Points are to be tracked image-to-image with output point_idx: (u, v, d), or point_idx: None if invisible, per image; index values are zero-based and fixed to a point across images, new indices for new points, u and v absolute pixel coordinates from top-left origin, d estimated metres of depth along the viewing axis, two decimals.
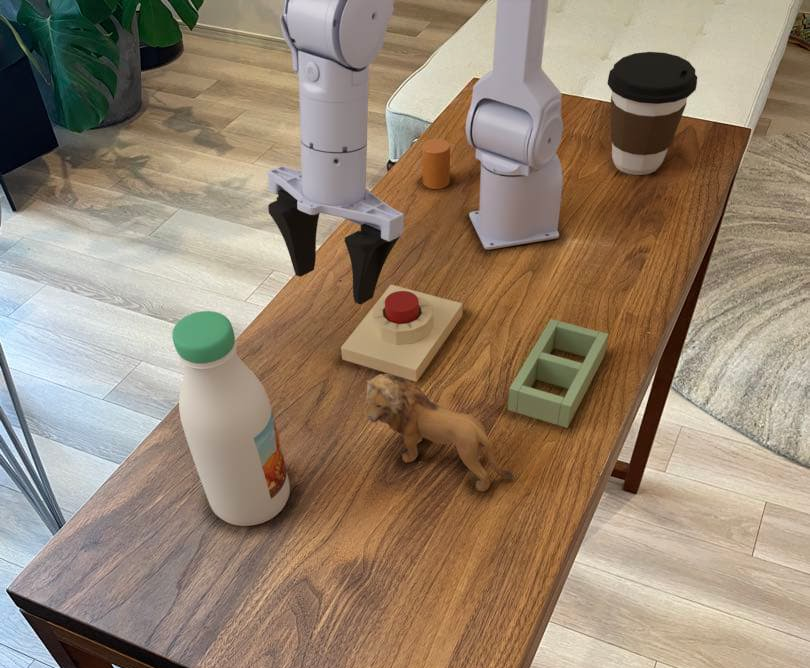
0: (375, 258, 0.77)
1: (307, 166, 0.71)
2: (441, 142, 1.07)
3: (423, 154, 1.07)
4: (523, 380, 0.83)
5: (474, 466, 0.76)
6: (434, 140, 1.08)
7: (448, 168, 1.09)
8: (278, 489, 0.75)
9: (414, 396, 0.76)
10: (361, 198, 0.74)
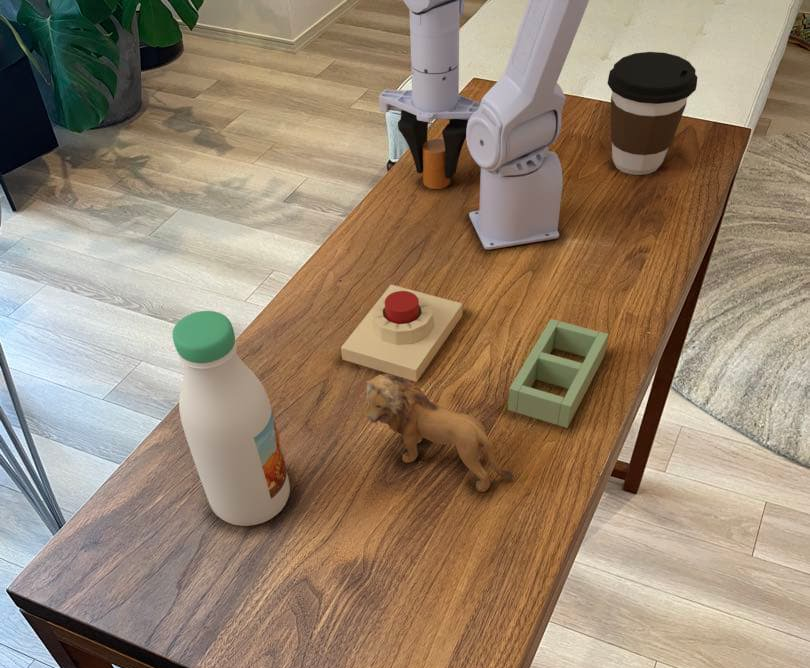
0: None
1: (422, 86, 0.99)
2: (441, 142, 1.07)
3: (423, 154, 1.07)
4: (523, 380, 0.83)
5: (474, 466, 0.76)
6: (434, 140, 1.08)
7: None
8: (278, 489, 0.75)
9: (414, 396, 0.76)
10: (458, 101, 1.02)
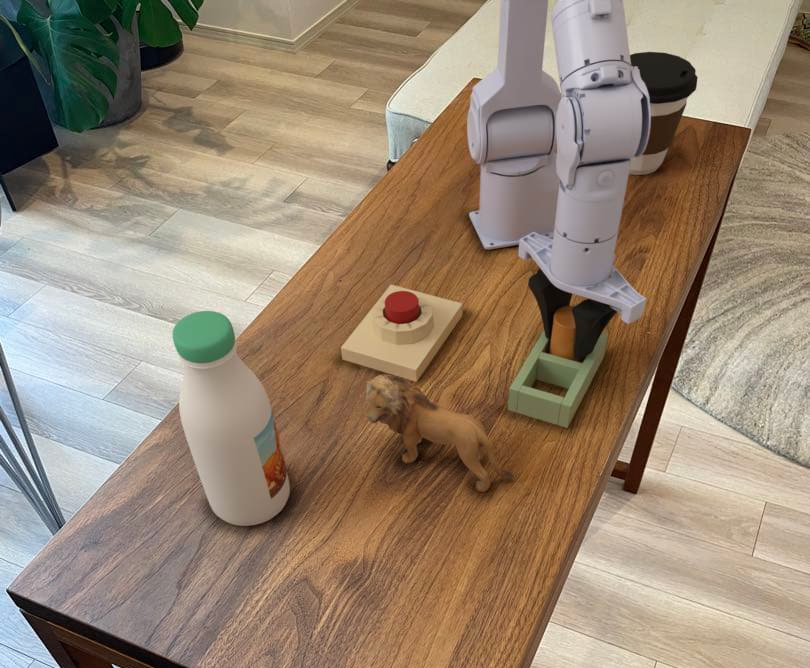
0: None
1: None
2: (562, 318, 0.83)
3: None
4: (523, 380, 0.83)
5: (474, 466, 0.76)
6: (569, 324, 0.82)
7: None
8: (278, 489, 0.75)
9: (414, 396, 0.76)
10: None
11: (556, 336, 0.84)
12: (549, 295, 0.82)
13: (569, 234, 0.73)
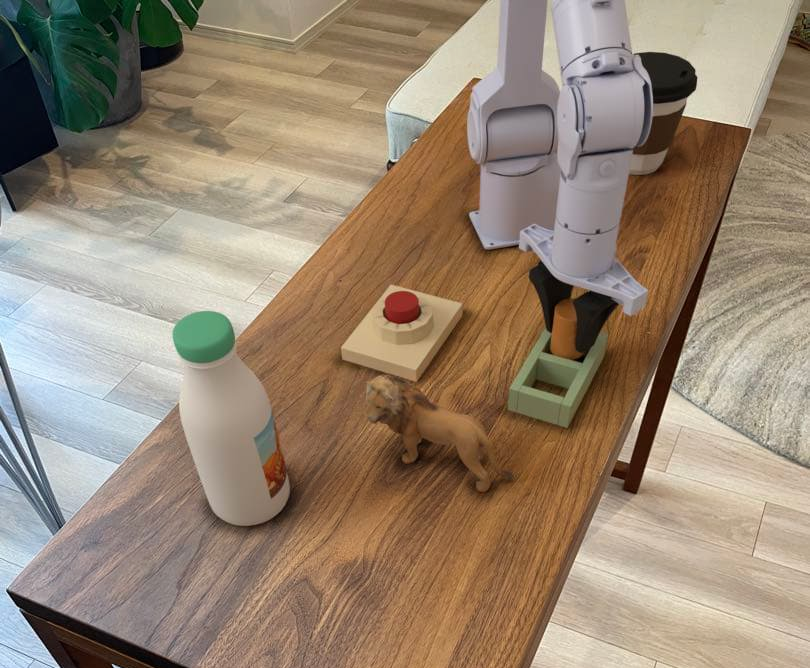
0: None
1: None
2: (563, 311, 0.82)
3: None
4: (523, 380, 0.83)
5: (474, 466, 0.76)
6: (570, 317, 0.81)
7: None
8: (278, 489, 0.75)
9: (414, 397, 0.76)
10: None
11: (557, 329, 0.83)
12: (550, 287, 0.81)
13: (570, 225, 0.73)
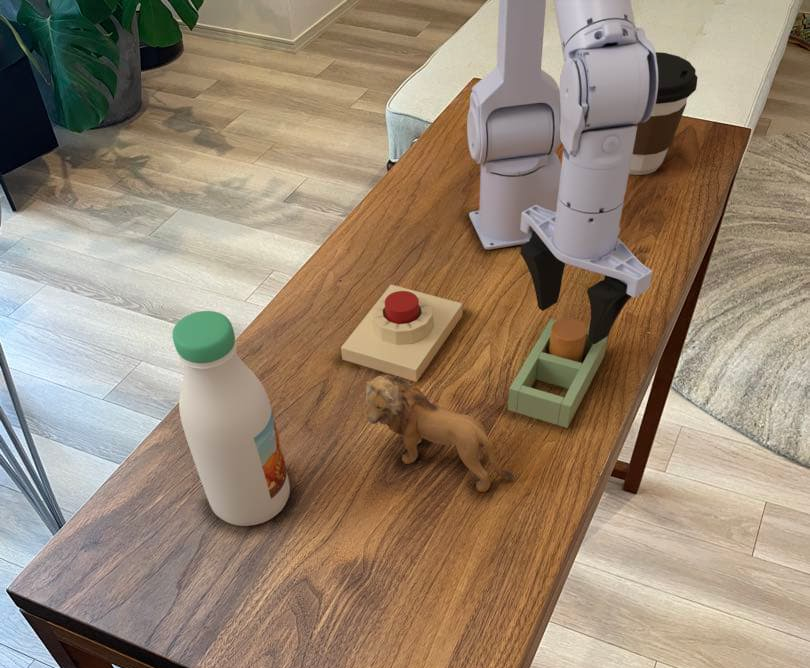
0: None
1: None
2: (560, 330, 0.84)
3: None
4: (523, 380, 0.83)
5: (474, 467, 0.76)
6: (566, 336, 0.83)
7: None
8: (278, 489, 0.75)
9: (414, 397, 0.76)
10: None
11: (554, 348, 0.85)
12: (542, 263, 0.80)
13: (573, 204, 0.71)
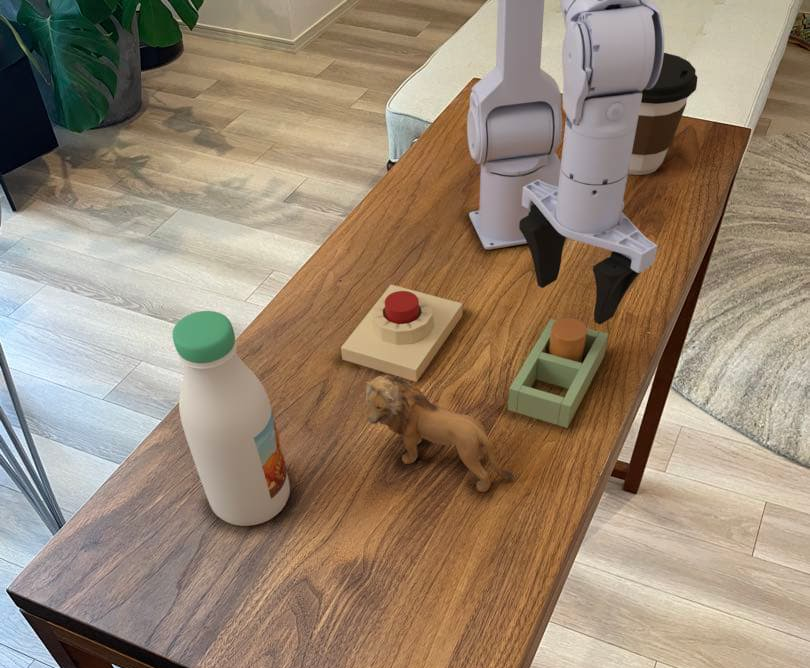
0: None
1: None
2: (560, 330, 0.84)
3: None
4: (523, 380, 0.83)
5: (475, 467, 0.76)
6: (566, 336, 0.83)
7: None
8: (278, 489, 0.75)
9: (414, 397, 0.76)
10: None
11: (554, 348, 0.85)
12: (541, 238, 0.78)
13: (576, 175, 0.69)
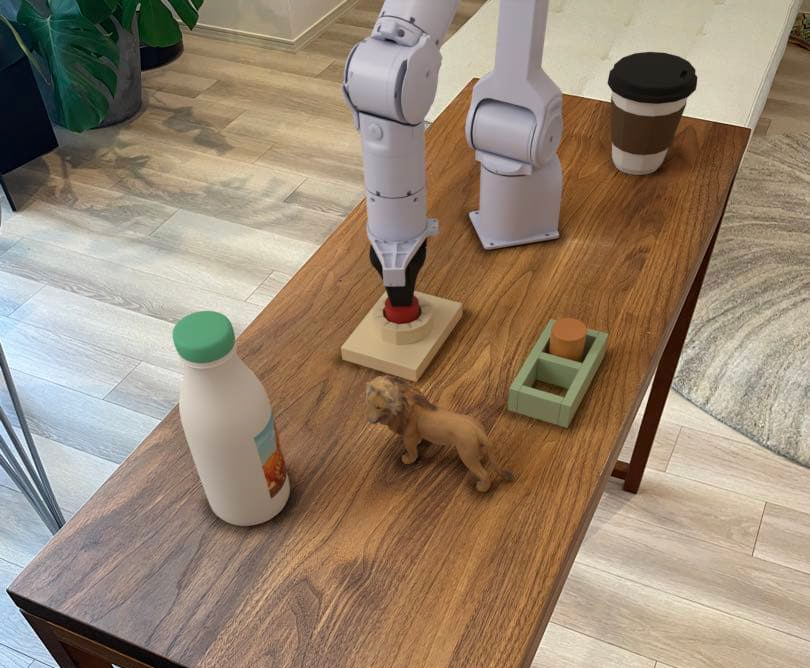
0: None
1: (425, 200, 0.78)
2: (560, 330, 0.84)
3: None
4: (523, 380, 0.83)
5: (475, 467, 0.76)
6: (566, 336, 0.83)
7: None
8: (278, 489, 0.75)
9: (414, 397, 0.76)
10: None
11: (554, 348, 0.85)
12: None
13: (364, 179, 0.77)
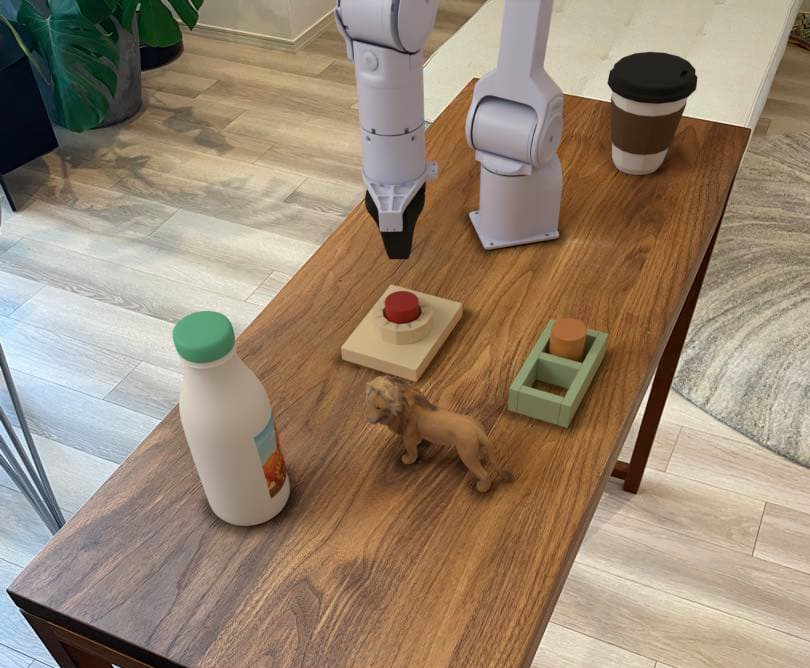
0: None
1: (423, 140, 0.74)
2: (560, 330, 0.84)
3: None
4: (523, 380, 0.83)
5: (475, 467, 0.76)
6: (566, 336, 0.83)
7: None
8: (278, 489, 0.75)
9: (414, 397, 0.76)
10: None
11: (554, 348, 0.85)
12: None
13: (359, 116, 0.72)
